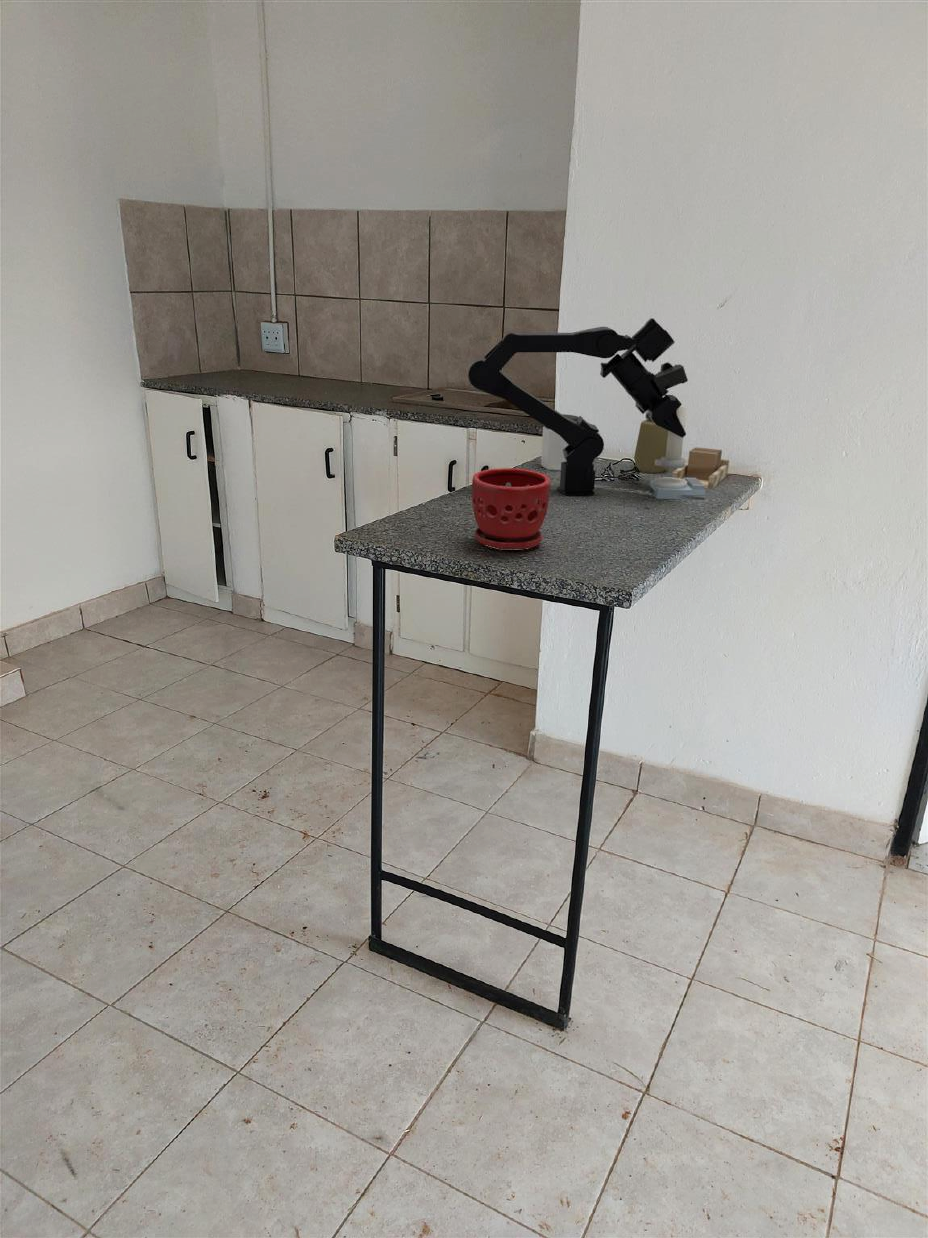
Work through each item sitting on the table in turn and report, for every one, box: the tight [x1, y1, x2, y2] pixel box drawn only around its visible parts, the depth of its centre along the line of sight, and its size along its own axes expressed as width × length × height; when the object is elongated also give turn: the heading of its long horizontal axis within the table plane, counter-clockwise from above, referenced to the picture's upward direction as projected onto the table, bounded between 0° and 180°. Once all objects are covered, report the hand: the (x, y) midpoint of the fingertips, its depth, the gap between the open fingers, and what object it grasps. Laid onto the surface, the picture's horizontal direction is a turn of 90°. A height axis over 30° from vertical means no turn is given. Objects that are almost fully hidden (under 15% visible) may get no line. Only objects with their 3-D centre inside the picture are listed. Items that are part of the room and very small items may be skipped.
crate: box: [686, 446, 723, 480], centre depth 203 cm, size 6×6×6 cm
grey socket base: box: [649, 476, 706, 501], centre depth 191 cm, size 10×8×3 cm
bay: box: [671, 458, 730, 490], centre depth 201 cm, size 16×9×4 cm, turn 153°
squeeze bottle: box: [633, 411, 668, 474], centre depth 207 cm, size 8×8×18 cm
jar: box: [540, 413, 579, 472], centre depth 213 cm, size 9×8×12 cm
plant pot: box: [471, 467, 551, 549], centre depth 152 cm, size 13×13×12 cm
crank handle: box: [655, 406, 688, 469], centre depth 187 cm, size 6×5×12 cm
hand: (682, 434), depth 187 cm, fingers closed on crank handle, 3 cm apart
